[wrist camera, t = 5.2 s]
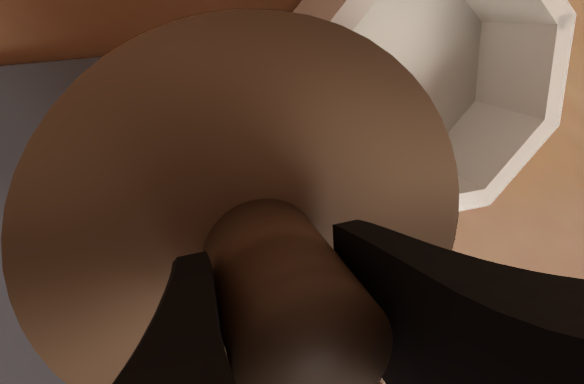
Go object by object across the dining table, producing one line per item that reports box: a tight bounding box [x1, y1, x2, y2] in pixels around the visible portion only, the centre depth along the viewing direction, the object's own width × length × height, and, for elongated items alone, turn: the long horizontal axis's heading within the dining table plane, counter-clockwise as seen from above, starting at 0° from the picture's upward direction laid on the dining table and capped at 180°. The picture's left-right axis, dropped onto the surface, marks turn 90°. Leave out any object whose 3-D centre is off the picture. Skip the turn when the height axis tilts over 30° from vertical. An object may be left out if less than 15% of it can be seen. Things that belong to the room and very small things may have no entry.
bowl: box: [293, 0, 576, 211], centre depth 17 cm, size 9×9×4 cm
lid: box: [1, 9, 459, 384], centre depth 10 cm, size 11×11×5 cm
